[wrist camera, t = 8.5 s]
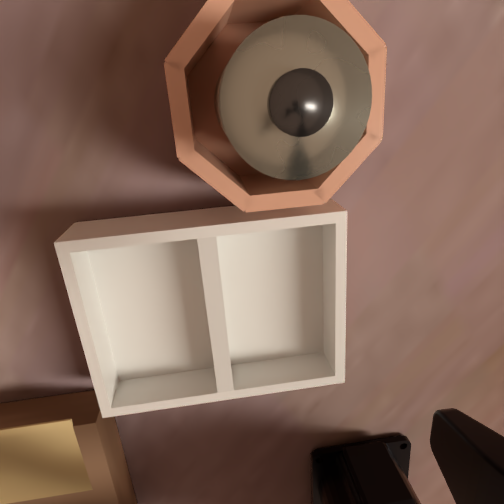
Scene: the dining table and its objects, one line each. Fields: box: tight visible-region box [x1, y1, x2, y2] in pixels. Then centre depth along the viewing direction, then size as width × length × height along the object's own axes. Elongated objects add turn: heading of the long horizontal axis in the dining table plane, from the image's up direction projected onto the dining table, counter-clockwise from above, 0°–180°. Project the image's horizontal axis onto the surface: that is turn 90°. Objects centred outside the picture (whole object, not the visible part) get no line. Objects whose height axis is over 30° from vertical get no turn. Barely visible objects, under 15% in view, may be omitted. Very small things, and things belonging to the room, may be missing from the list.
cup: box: [164, 0, 387, 212], centre depth 15 cm, size 7×7×5 cm
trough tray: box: [54, 198, 347, 418], centre depth 19 cm, size 9×12×3 cm
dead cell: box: [214, 15, 372, 180], centre depth 13 cm, size 4×4×8 cm
